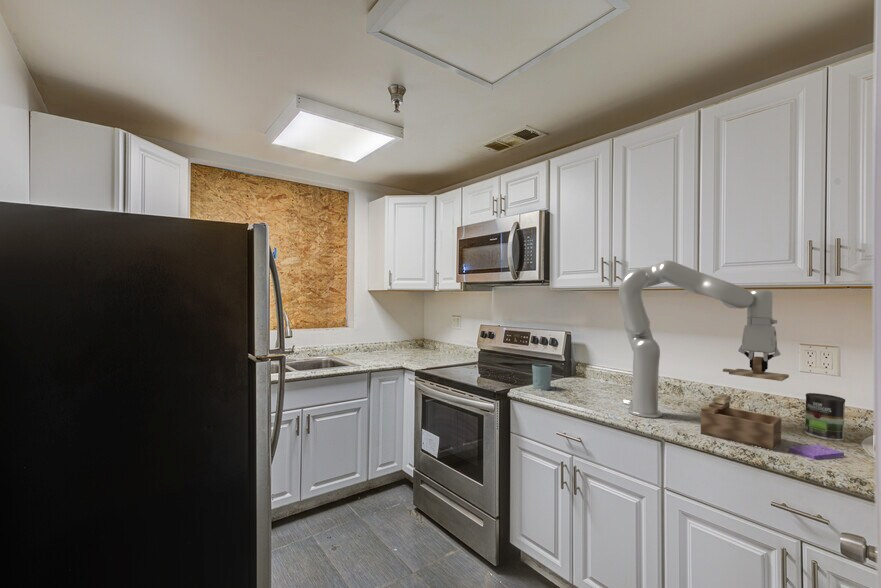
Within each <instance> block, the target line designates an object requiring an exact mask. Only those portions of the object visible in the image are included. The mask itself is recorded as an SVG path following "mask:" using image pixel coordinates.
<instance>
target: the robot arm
mask: <svg viewBox="0 0 881 588" xmlns="http://www.w3.org/2000/svg"><path fill="white" fill-rule="evenodd" d="M664 283H669V284H670V285H673V286H675V287H678V288H680V289H683V290H685V291H687V292H690V293H692V294H696V295H700V296H705V297H709V298H713V299H715V300H718V301H721V302H722V304H723V305H724V306H726V307H728V308H730V309H741V310H742V309H746V324H745V325H744V327H743V333H742V340H741V345H740V347H739V348H738V350H737V351H738V352H740V353H741V354H742V355H745V357H746V358H748V360H749V369H750V368H751V369H750V370H753V357H755V353H762V355H763V356H762V357H763V358H764V359H763V361H762V372H767V370H768V369H769V364H768V363H769V361H770V360H771V359H773V358H775V357H778V356H781V355H782V353H781V351H780V350H779V348H778V339H777V330H776V326H774V324H778V320H777V319H774V318H773V297H774V296H773V292H772V291H771V290H768V289H752V290H751V289H750V290H748V289H746V288H744V287H741V286H739V285H736V284H735V283H731V282H729V281H727V280H723V279H720V278H717V277H714V276H712V275H709V274H706V273H703V272H700V271H699V270H696V269H693V268H691V267H688V266H685V265H683V264H681V263H678V262H676V261H673V260H664V261H661V262H658V263H656V264H654V265H651V266H647V267H644V268H636V269H632V270H631V271H629V273H628V274H627V275H626V276H625V277H624V278H623V280H622V281H621V283H620V285H619V289H618V300H619V303H620V304H619V305H620V307H621V311H622V314H623V318H624V319H623V325H624V328H625V333H626V335H627V337H628V341H629V344H630V347H631V350H632V352H633V356H632V357H633V358H632V361H633V362H632V394H631V395H632V397H631V399H632V400H629V399H625V398H624V399H623V400H622V404H623V405H624V406H629V407H628V408H627V411H628V413H629V414H631V415H634V416H638V417H643V418H649V419H651V418H653V419H654V418H660V417H662V416H663V412H662V411H661V410H659V371H660V370H659V369H660V368H659V367H660V358H661V349H660V346H659V343H658V342H657V341H656V340H655V339H654V337H653V333H652V330H651V328H650V327H651V321H650V319H649V317H648V314H647V311H646V308H645V305H644V301H643V298H642V291H643V289H645V288H650V287H653V286H657V285H661V284H664Z"/></svg>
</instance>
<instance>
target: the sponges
mask: <svg viewBox="0 0 881 588" xmlns="http://www.w3.org/2000/svg"><path fill="white" fill-rule="evenodd" d="M788 450H789V451H790V452H791V453H795V454H797V455H800V456H804V457H806V458H809V459H811V460H820V459H833V458H843V457H845V452H844V451H842V450H841V451H840V450H838V449H833V448H830V447H827V446H825V445H823V444H822V445H821V444H813V445H799V446H796V445H795V446H789V448H788Z"/></svg>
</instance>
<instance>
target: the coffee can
mask: <svg viewBox="0 0 881 588" xmlns="http://www.w3.org/2000/svg"><path fill="white" fill-rule="evenodd" d="M845 403H846V398H843V397H840V396H837V395H832V394H825V393H815V392H814V393H813V392H809V393H808V392H807V393H805V420H804V421H805V422H804V423H805V424H804V427H805V428H804V430H805V431H804V433H805V434H806V435H807V436H811V437H813V438H818V439H822V440H827V441H834V442H835V441H836V442H842V441H845V414H846V413H845V409H846V404H845Z"/></svg>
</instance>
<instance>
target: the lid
mask: <svg viewBox="0 0 881 588" xmlns="http://www.w3.org/2000/svg"><path fill="white" fill-rule="evenodd" d="M763 359H764V358H763V356H757V355H756V356H754V357H753V370H751V369H744V368H736V369H731V368H722V372H725V373H728V375H732V376H740V377H748V378H753V379H754V378H755V379H763V380H771V381H779V382H783V381H785V380H786V379H789V377H790V374H787V373H786V374H785V373H778V372H777V373H776V372H772V371H771V372H769V371H765V372H762V361H763Z"/></svg>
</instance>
